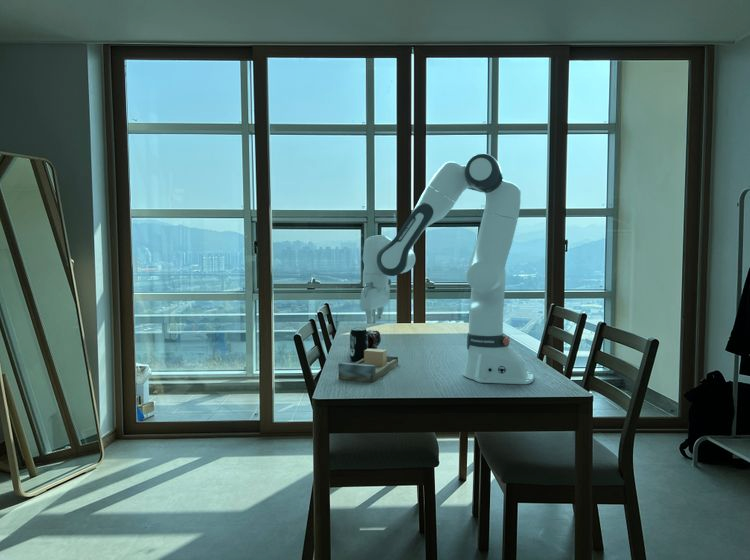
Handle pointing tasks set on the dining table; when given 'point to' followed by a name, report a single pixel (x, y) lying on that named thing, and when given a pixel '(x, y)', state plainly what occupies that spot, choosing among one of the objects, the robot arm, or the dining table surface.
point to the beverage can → (358, 343)
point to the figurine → (373, 339)
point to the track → (365, 370)
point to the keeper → (375, 357)
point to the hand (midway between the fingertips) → (374, 321)
